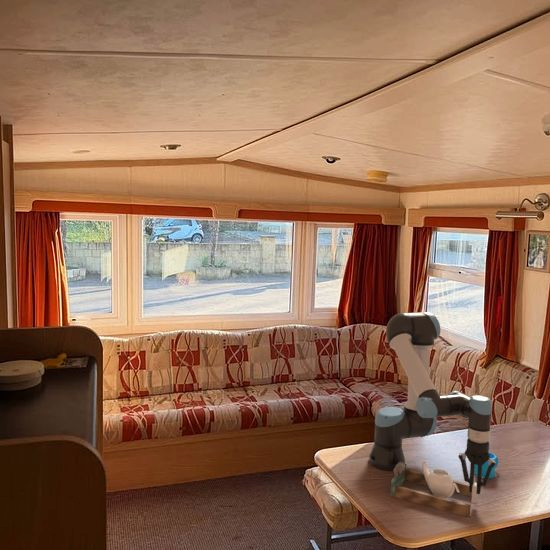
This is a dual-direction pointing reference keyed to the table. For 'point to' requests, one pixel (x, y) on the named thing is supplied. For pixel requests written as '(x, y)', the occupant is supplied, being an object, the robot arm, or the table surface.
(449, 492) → the teapot
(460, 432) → the table surface
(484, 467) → the mug
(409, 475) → the bay
